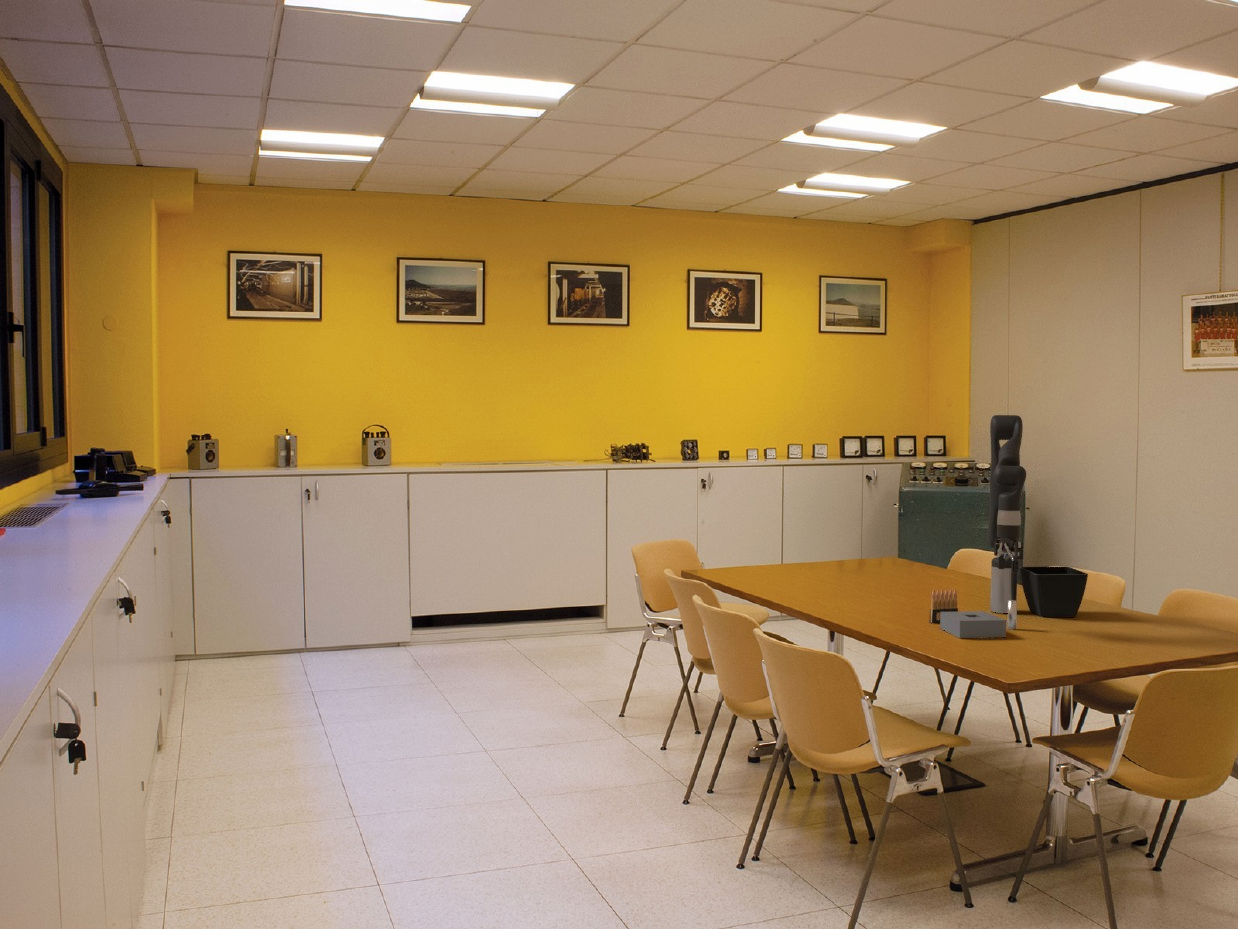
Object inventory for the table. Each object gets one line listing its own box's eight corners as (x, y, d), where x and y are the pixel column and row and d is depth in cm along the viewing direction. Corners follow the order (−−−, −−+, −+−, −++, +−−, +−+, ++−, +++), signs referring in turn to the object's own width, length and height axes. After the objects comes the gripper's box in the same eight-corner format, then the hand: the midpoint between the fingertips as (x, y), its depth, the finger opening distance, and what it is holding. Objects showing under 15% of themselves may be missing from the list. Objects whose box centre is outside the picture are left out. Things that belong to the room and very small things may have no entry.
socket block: (940, 629, 357) (940, 611, 357) (984, 628, 359) (984, 611, 358) (959, 638, 341) (960, 620, 341) (1005, 638, 343) (1006, 620, 343)
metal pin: (1005, 628, 359) (1006, 599, 358) (1013, 628, 359) (1014, 599, 359) (1009, 630, 356) (1010, 601, 355) (1018, 630, 356) (1018, 601, 356)
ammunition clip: (932, 623, 366) (932, 590, 366) (929, 622, 368) (929, 589, 368) (958, 622, 369) (959, 589, 369) (955, 621, 371) (956, 588, 370)
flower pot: (1035, 619, 376) (1036, 573, 375) (1017, 609, 395) (1018, 566, 394) (1088, 619, 375) (1089, 574, 375) (1067, 610, 394) (1068, 566, 393)
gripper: (1030, 525, 348) (1029, 572, 348) (1007, 522, 362) (1006, 568, 362) (1010, 525, 347) (1009, 573, 347) (987, 522, 361) (987, 568, 361)
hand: (1007, 570), depth 354 cm, fingers open, 8 cm apart
